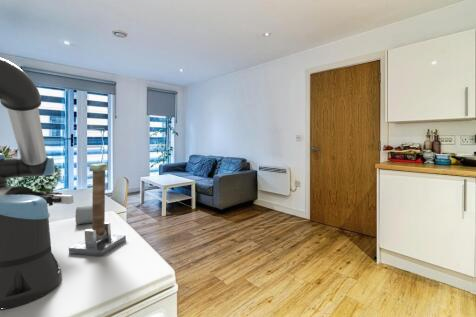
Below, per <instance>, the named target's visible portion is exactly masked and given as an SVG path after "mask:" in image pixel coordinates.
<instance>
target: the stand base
mask: <svg viewBox="0 0 476 317" xmlns="http://www.w3.org/2000/svg"><path fill="white" fill-rule="evenodd" d="M105 230H106V231H107V236H106V237H104V238H102V239H101V240H99V241H97V240H96V230H92V228H90V229H89V228H87V229H85V230H84V239H83V240H81V241H79V242H77V243H75V244H74V245H71V246H70V247H68V254H69V255H78V256H89V257H103V256H105V255H107V254H108V253H110V252H111V251H112V250H113V251H114V249H116V248H117V247H119V246H121V245H122V244H123V243H125V242H126V241H127V235H122V234H112V230H111V223H110V222H105Z"/></svg>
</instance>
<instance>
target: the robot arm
mask: <svg viewBox="0 0 476 317" xmlns="http://www.w3.org/2000/svg"><path fill="white" fill-rule="evenodd" d="M41 98H42V97H41V94H40V92H39V89H38V87H37V85H36V84H35V82H34V81H33V80H32V79H31V77H30V76H29V75H28V74H27V73H26V72H25V71H24V70H23V69H21V67H19V66H18V65H16V64H15V63H13V62H11V61H9V60H7V59H5V58H2V57H0V104H1V105H2V107H4V108H5V109H6V110H7V112H8V116H9V119H10V120H9V121H10V124H11V127H12V131H13V134H14V139H15V142H16V144H17V149H18V152H19V156H20V157H6V156H5V153H0V310H2V309H1V308H6V309H10V308H15V307H19V306H22V305H26V304H28V303H30V302H33V301H35V300H38V299H40V298H42V297H43V296H46V295H47V294H49V293H50V292H52V291H53V290H55V289H56V288H57V287H58V286H59V285H60V284H61V282H62V280H63V274H62V269H61V267H60V265H59V264H58V261H57V259H56V258H55V256H54V254H53V252H52V242H51V241H52V240H51V231H50V230H51V229H50V213H49V207H48V206H50V207H51V206H53V205H54V204H60V205H61V204H64V205H71V204H73V203H74V195H73V194H63V192H59V191H58V192H57V191H51V190H46V191H44V192H43V191H36V190H34V191H33V189H31V188H30V187H28V186H13V185H12V186H11V185H10V186H9V185H8V179H15V178H16V179H17V178H31V177H44V176H53V175H54V173H55V159H54V157H53V156H47V152H46V146H45V141H44V140H45V139H44V134H43V127H42V122H41V117H40V111H39V108H40V107H41V105H42V99H41Z"/></svg>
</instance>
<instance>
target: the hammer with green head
mask: <svg viewBox="0 0 476 317" xmlns="http://www.w3.org/2000/svg"><path fill="white" fill-rule="evenodd" d="M88 169H89V172H92V205H91V206H92V227H91V230H96V240H97V241H99V240H101V239H102V238H104V237H106V236H107V231H106V230H105V221H106V218H105V217H106V214H105V213H106V212H105V210H106V209H105V208H106V204H105V203H106V202H105V201H106V171H108V170H109V164H108V163H102V162H101V163H93V164H89V168H88Z"/></svg>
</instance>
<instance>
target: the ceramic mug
mask: <svg viewBox="0 0 476 317" xmlns="http://www.w3.org/2000/svg"><path fill="white" fill-rule="evenodd" d="M91 223H92V205H85V206H84V205H82V206H79V205H78V206H76V208H75V224H76V225H84V224H85V225H86V224H91Z"/></svg>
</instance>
